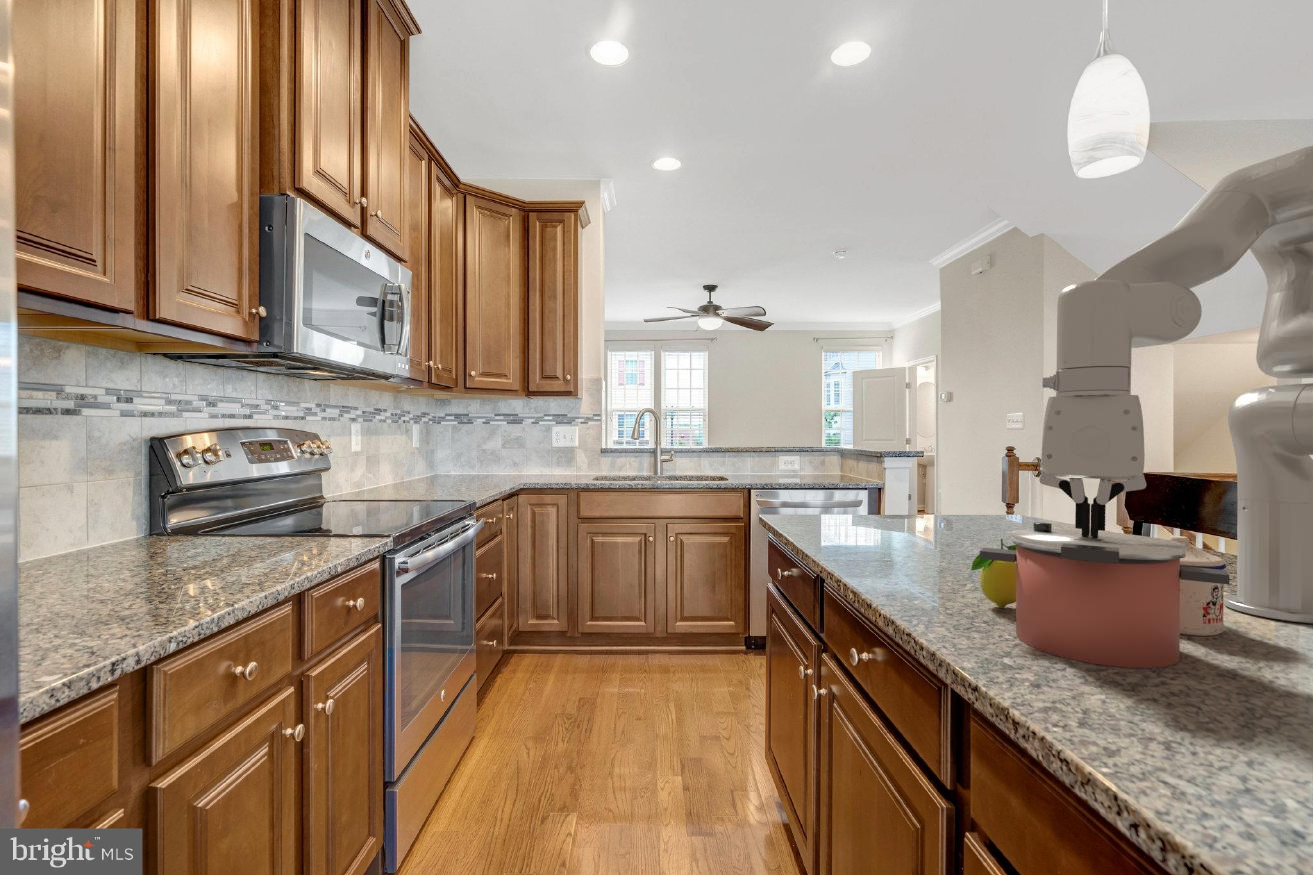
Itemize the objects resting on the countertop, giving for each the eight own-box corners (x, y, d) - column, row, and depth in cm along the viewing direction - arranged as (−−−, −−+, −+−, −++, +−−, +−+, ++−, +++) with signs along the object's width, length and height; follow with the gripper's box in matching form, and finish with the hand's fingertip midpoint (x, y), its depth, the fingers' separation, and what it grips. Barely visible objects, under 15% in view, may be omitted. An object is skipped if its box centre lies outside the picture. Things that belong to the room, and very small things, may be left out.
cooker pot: (992, 609, 90) (992, 532, 90) (1217, 642, 76) (1217, 550, 76) (970, 641, 77) (970, 550, 76) (1238, 688, 62) (1238, 576, 62)
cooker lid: (1020, 534, 88) (1020, 518, 88) (1179, 547, 78) (1179, 529, 78) (997, 551, 71) (997, 532, 71) (1196, 571, 61) (1196, 548, 61)
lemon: (1036, 609, 91) (1036, 539, 91) (1020, 616, 87) (1020, 544, 87) (987, 599, 96) (987, 533, 96) (970, 606, 92) (970, 537, 92)
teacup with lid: (1224, 642, 76) (1224, 545, 76) (1130, 626, 82) (1130, 537, 82) (1228, 620, 85) (1228, 533, 85) (1143, 607, 91) (1143, 526, 91)
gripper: (1018, 385, 79) (1015, 533, 79) (1173, 380, 70) (1171, 547, 70) (1025, 389, 85) (1023, 526, 85) (1169, 385, 76) (1166, 538, 76)
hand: (1090, 535), depth 77 cm, fingers closed
